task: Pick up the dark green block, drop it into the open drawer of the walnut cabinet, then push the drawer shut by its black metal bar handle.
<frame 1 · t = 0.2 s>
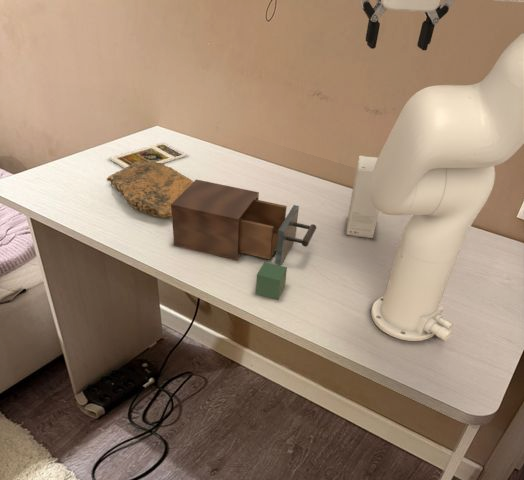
hand: (396, 47, 88), 37 cm above the table, tool pointing down, fingers open, 9 cm apart
white tower device: (359, 229, 115), on the table
trading card: (148, 158, 136), on the table
rock: (150, 198, 120), on the table
drawer: (269, 230, 102), point 5 cm above the table, slide at 8.0 cm
cabinet: (216, 238, 108), on the table
block: (270, 290, 95), on the table
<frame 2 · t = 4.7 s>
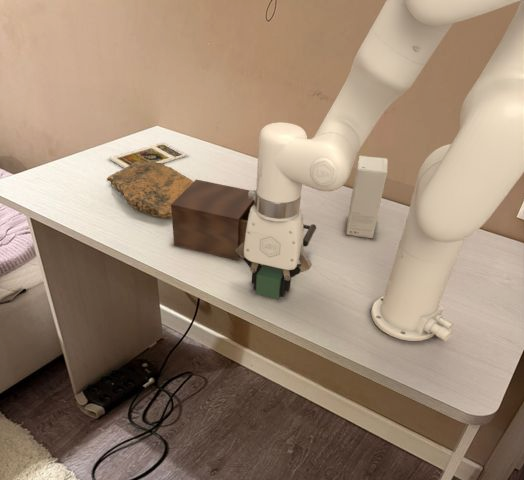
hand: (270, 288, 95), 0 cm above the table, tool pointing down, fingers closed on block, 4 cm apart
block: (270, 290, 95), on the table, touching gripper
everything else where it was.
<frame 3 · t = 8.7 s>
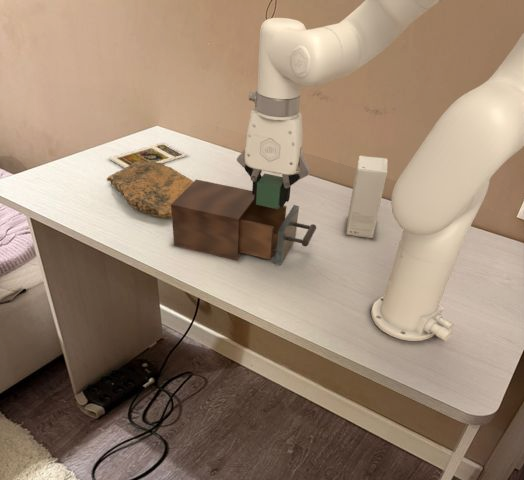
hand: (270, 200, 98), 12 cm above the table, tool pointing down, fingers closed on block, 4 cm apart
block: (270, 202, 98), point 11 cm above the table, touching gripper
everything else where it was.
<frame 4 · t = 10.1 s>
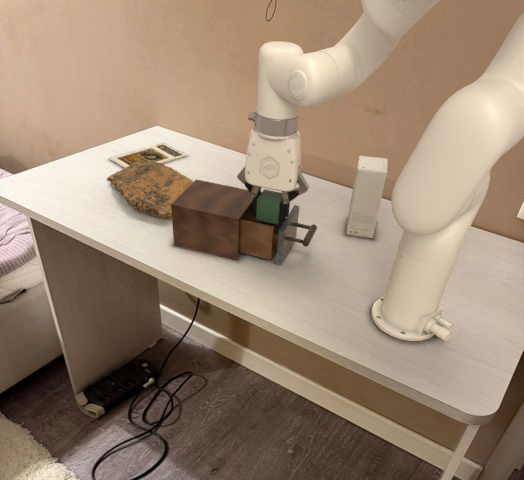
hand: (270, 215, 100), 8 cm above the table, tool pointing down, fingers closed on block, 4 cm apart
block: (270, 217, 100), point 8 cm above the table, touching gripper
everything else where it was.
when the fingers open (8 cm above the table, at t = 12.8 s): block drops 6 cm, resting on drawer.
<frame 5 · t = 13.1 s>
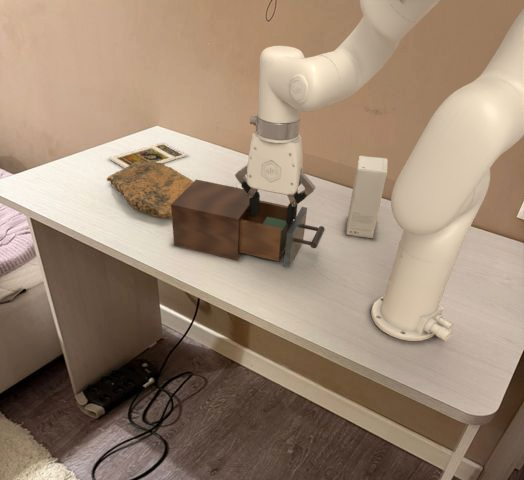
hand: (272, 216, 100), 8 cm above the table, tool pointing down, fingers open, 6 cm apart
drawer: (278, 232, 102), point 5 cm above the table, slide at 9.8 cm, touching block, gripper
block: (272, 243, 104), point 2 cm above the table, touching drawer
everything else where it was.
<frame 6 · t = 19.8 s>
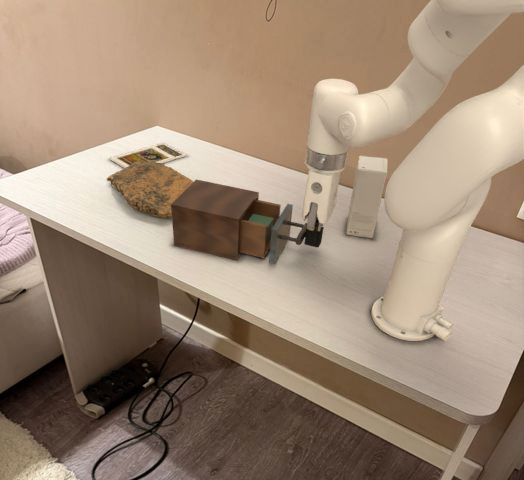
hand: (312, 244, 101), 4 cm above the table, tool pointing down, fingers closed
drawer: (263, 229, 102), point 5 cm above the table, slide at 6.6 cm, touching block, gripper
block: (258, 240, 105), point 2 cm above the table, touching drawer
everything else where it was.
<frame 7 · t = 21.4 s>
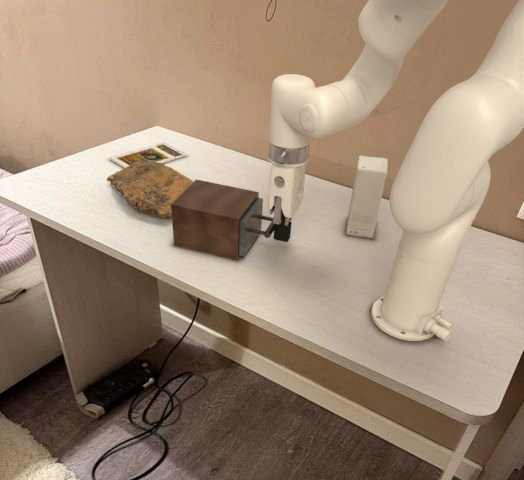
hand: (281, 239, 103), 3 cm above the table, tool pointing down, fingers closed
drawer: (234, 222, 104), point 5 cm above the table, slide at 0.0 cm, touching block, cabinet, gripper
block: (229, 233, 106), point 2 cm above the table, touching drawer
everything else where it was.
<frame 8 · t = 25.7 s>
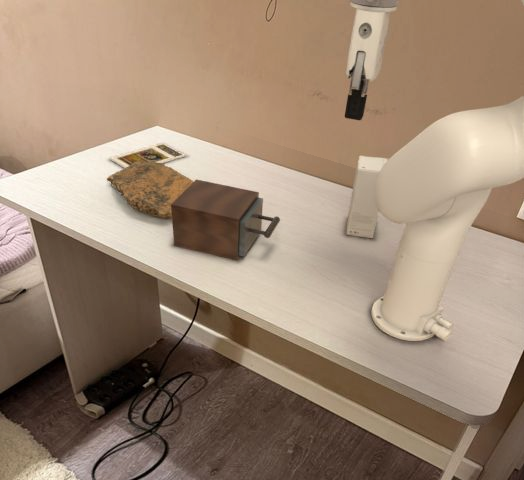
hand: (353, 117, 90), 27 cm above the table, tool pointing down, fingers closed
drawer: (234, 222, 104), point 5 cm above the table, slide at 0.0 cm, touching block, cabinet
everything else where it was.
at the end: block inside the target area in the cabinet (3.1 cm from its centre), point 2.0 cm above the cabinet's base; drawer slide at 0.0 cm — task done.
